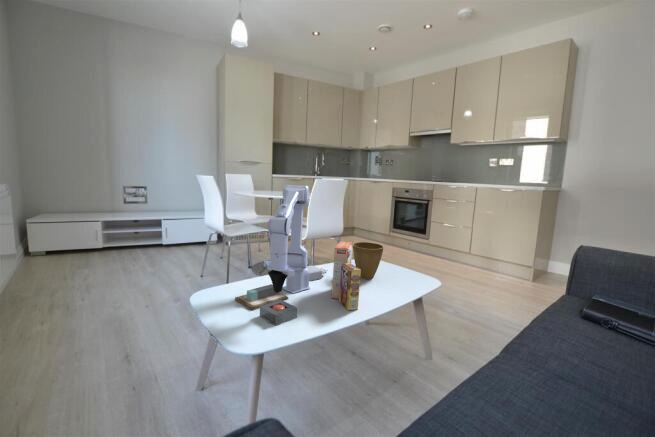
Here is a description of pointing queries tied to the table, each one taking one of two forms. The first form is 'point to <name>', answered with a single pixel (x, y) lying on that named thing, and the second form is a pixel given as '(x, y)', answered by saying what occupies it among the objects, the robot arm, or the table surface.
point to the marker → (260, 292)
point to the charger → (315, 272)
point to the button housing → (278, 312)
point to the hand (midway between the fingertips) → (277, 291)
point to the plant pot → (367, 258)
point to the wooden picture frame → (260, 300)
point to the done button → (278, 307)
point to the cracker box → (340, 257)
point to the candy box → (349, 286)
